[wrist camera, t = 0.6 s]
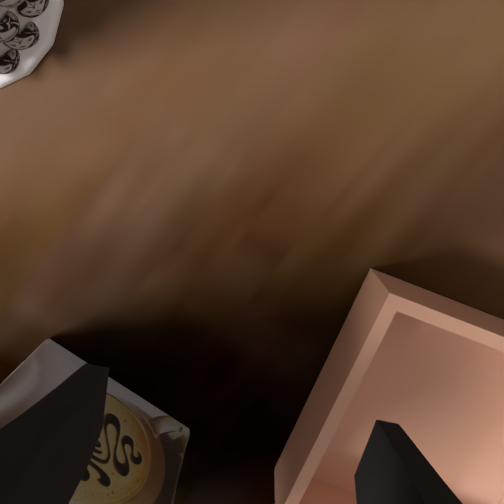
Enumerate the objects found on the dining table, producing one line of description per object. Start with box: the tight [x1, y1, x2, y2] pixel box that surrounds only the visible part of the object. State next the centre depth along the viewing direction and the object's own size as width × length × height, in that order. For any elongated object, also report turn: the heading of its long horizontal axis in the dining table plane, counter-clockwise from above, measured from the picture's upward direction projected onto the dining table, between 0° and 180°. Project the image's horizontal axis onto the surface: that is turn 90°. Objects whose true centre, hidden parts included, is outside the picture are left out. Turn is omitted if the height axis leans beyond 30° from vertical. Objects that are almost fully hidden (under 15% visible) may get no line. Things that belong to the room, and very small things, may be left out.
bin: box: [274, 268, 504, 504], centre depth 22 cm, size 12×12×4 cm
